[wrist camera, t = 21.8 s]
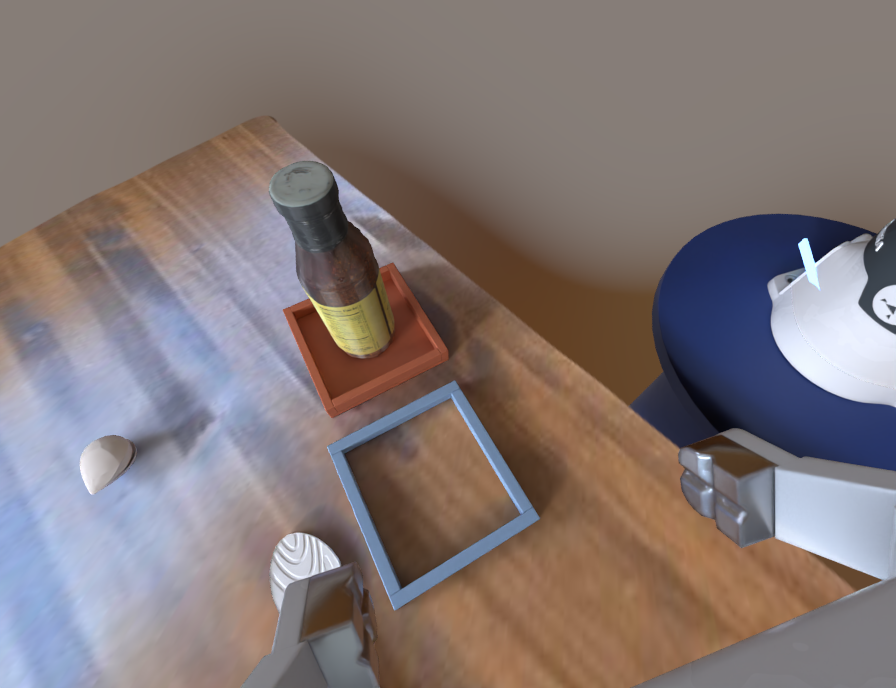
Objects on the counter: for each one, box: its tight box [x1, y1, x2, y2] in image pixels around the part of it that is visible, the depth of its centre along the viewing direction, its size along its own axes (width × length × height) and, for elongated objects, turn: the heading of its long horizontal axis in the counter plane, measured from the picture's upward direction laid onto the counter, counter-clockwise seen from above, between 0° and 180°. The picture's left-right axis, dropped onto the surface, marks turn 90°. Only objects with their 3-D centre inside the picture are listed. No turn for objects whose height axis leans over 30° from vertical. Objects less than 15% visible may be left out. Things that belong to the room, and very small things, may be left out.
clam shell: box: [80, 435, 137, 495], centre depth 36 cm, size 4×5×2 cm
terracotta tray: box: [283, 263, 449, 418], centre depth 43 cm, size 13×13×2 cm
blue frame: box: [327, 381, 540, 610], centre depth 36 cm, size 13×14×1 cm
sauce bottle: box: [269, 161, 395, 358], centre depth 34 cm, size 7×6×20 cm
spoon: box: [269, 533, 342, 614], centre depth 31 cm, size 5×18×1 cm, turn 37°
